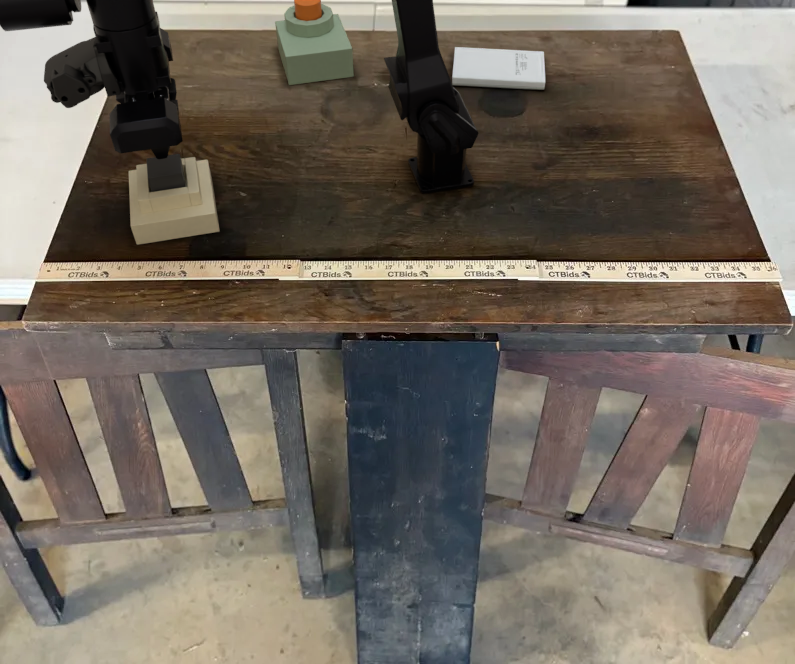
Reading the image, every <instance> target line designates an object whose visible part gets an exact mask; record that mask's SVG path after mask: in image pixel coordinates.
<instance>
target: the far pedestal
mask: <svg viewBox="0 0 795 664" xmlns="http://www.w3.org/2000/svg"><path fill="white" fill-rule="evenodd" d="M321 9H322V17H321V18H319V19H317V20H312V21H303V20H299V19H297V18H296V15H295V5H292V6H290V7H288V8H287V9H286V10H285V12H284V14H283V15H284V20H283V19H282V20H276V21H274V24H275V33H276V42H277V49H278V53H279V56H280V60H281V63H282V66H283V70H284V73H285V76H286V80H287V83H288V86H293V85H294V86H295V85H300V84H301V85H302V84H309V83H316V82H323V81H324V82H325V81H332V80H340V79H346V78H347V79H348V78H353V77H355V75H354V74H355V73H354V53H353V51H354V50H353V46H352V43H351V41H350V39H349V36H348V35H347V32H346V29H345V27H344V25H343V22H342V20H341V18H340V15H339V13H333V10H332V8H331V7H330V6H328V5H326V4H324V3H321Z"/></svg>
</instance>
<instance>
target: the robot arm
mask: <svg viewBox="0 0 795 664" xmlns="http://www.w3.org/2000/svg"><path fill="white" fill-rule="evenodd" d="M85 1H86V4H87V8H88V12H89V14H90V15H89V16H90V17H91V21H92V24H93V26H92V27H93V33H94V37H91V38H89V39H87V40H83V41H80V42H78V43H76V44H73V45H72V46H70V47H68V48H66V49H63V50H62V51H59V52H58V53H56V54H54V55H52V56H51V57H49V58H48V59H47V61H46V62H45V64H44V71H43V73H44V74H43V82H44V83H45V85H46V89H47V90H48V92H49V93H50V99H51V101H52V102H53V103H56V104H59V103H61V105H62V106H63V107H65V108H66V109H71V108H74V107H76V106H78V105H79V104H81V103H84V102H85V101H87V100H88V99H90V97H91V96H92V97H93V95H96V94H97V93H99V92H101V91H102V90H104V89H105V93H106V96H107V97H114V96H115V100H116V102H118V103H116V105H115V106H114V107H113V109H112V110H111V112H110V113H109V137H110V139H111V142H112V146H113V148H114V152H116V153H119V154H127V153H134V152H143V151H149V150H151V152H152V154H153V155H154V157H156V158H157V159H165V158H167V157H168V155H169V152H170V148H171V147H176V146H178V145H180V144H181V143H183V142H184V141H183V132H182V131H183V130H182V125H181V120H180V110H179V109H180V108H179V101H178V100H179V99H177V95H178V94H177V93H178V91H177V84H176V79H175V78H173V77H171V69H170V62H173V61H174V56H173V47H172V43H171V39H170V35H169V32H167V30H165V29H163V28H161V25H160V23H161V22H160V18H159V14H158V11H156V9H155V5H154V1H153V0H85ZM391 5H392V11H393V17H394V23H395V28H396V34H397V49H396V54H395V56H387V57H386V56H385V57H383V60H384V64H385V65H386V68H387V71H388V75H389V83H388V87H387V88H388V91H389V92H390V95H391V98H392V101H393V103H394V106H395V108H396V111H397V113H398V116H399V118H400V120H401V121H404V120H405V119H406V121H407V125H408V127H409V129H410V130H411V131H412V132H413V133H417V135H416V136H417V137H416V138H417V139H416V141H417V142H416V156H415V157H410V158H408V159H407V163H408V166H409V168H410V171H411V173H412V176H413V178H414V180H415V183H416V185H417V188H418V189H419V192H420V193H421V194H429V193H436V192H443V191H449V190H455V189H461V188H467V187H472V186H474V185H475V179H474V177H473V175H472V173H471V171H470V169H469V167H468V166H467V163H466V162H467V160H466V159H467V150H469V149H473V147H474V144H475V142H476V140H477V138H478V136H479V131H478V129H477V127H476V124H475V122H474V120H473V118H472V116H471V114H470V112H469V110H468V108H467V107H466V104H465V102H464V100H463V97H462V96H461V93H460V92H459V91H458V90H457V89H456V87H454V85H452V79H451V77H450V75H449V72H448V69H447V67H446V64H445V61H444V58H443V56H442V53H441V51H440V50H441V49H440V47H439V39H438V32H437V31H438V30H437V24H436V16H435V7H434V0H391ZM81 12H82V0H0V28H1V29H2V30H3V31H4V32H13V31H23V30H32V29H33V30H35V29H43V28H44V29H45V28H52V27H62V26H63V27H64V26H71V25H72V24H73V22H74V16H73V13H81Z"/></svg>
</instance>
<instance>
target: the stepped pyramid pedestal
mask: <svg viewBox="0 0 795 664" xmlns="http://www.w3.org/2000/svg"><path fill="white" fill-rule="evenodd" d="M181 161H182V165H183V169H184V178H185V187H182V188H175V189H169V190H162V191H155V192H152V191H151V188H150V184H149V181H148V175H147V163H141V164H136V165H135V167H136V168H135V169H131V170H128V191H129V195H128V197H129V214H130V215H129V218H130V219H129V220H130V222H129V223H130V228H131V232H132V236H133V238H134V241H135V244H136V245H137V246H138V245H144V244H150V243H158V242H164V241H170V240H175V239H183V238H188V237H189V238H190V237H194V236H200V235H206V234H208V235H209V234H212V233H220V232H221V231H220V230H221V229H220V223H219V217H218V211H217V210H218V209H217V204H216V197H215V191H214V190H215V189H214V183H213V178H212V172H211V168H210V164H209V163H210V162H209V159H200V160H197V159H196V157H195V156H191V157H185V158H184V157H183V158H182V157H181Z"/></svg>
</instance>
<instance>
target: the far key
mask: <svg viewBox="0 0 795 664" xmlns="http://www.w3.org/2000/svg"><path fill="white" fill-rule="evenodd" d="M293 3H294V5H295V15H296V18H297V19H299V20H303V21H312V20H317V19H319V18H321V17H322V9H321V4H322V0H293ZM294 5H293V6H294Z"/></svg>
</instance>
